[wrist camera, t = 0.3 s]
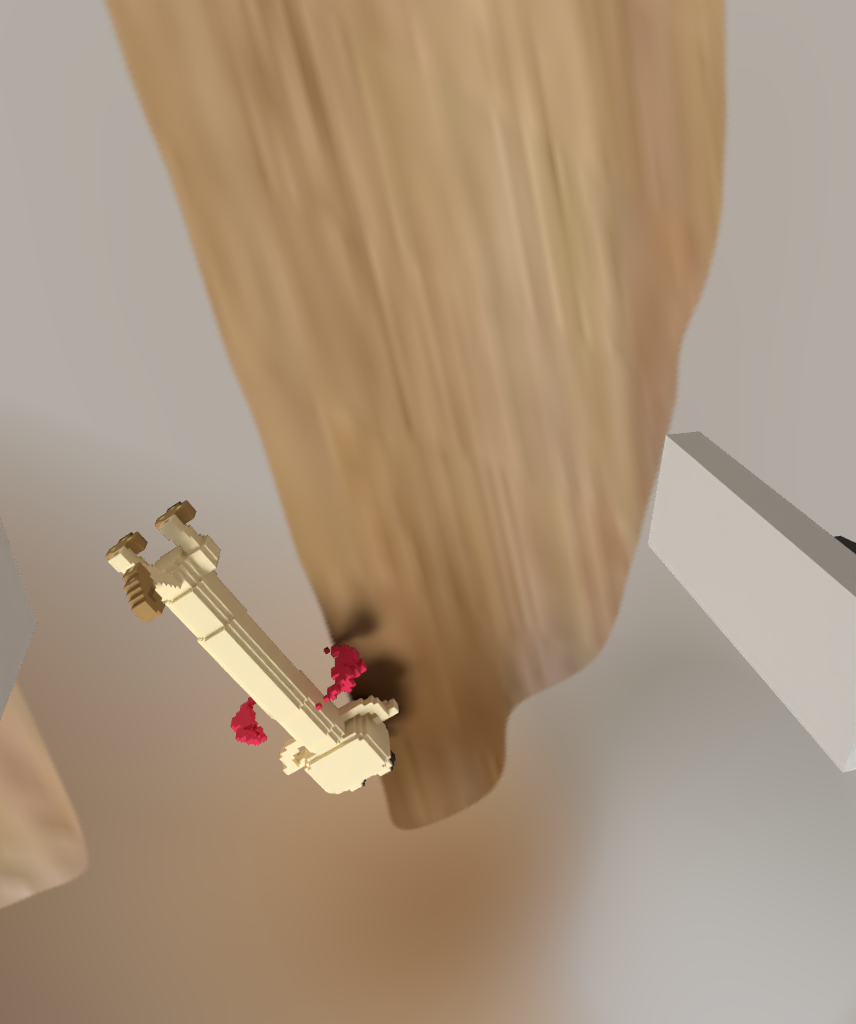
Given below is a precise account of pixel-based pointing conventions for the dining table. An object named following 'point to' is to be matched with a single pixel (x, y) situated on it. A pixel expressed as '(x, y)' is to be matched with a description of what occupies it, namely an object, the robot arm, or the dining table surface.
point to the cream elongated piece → (259, 661)
